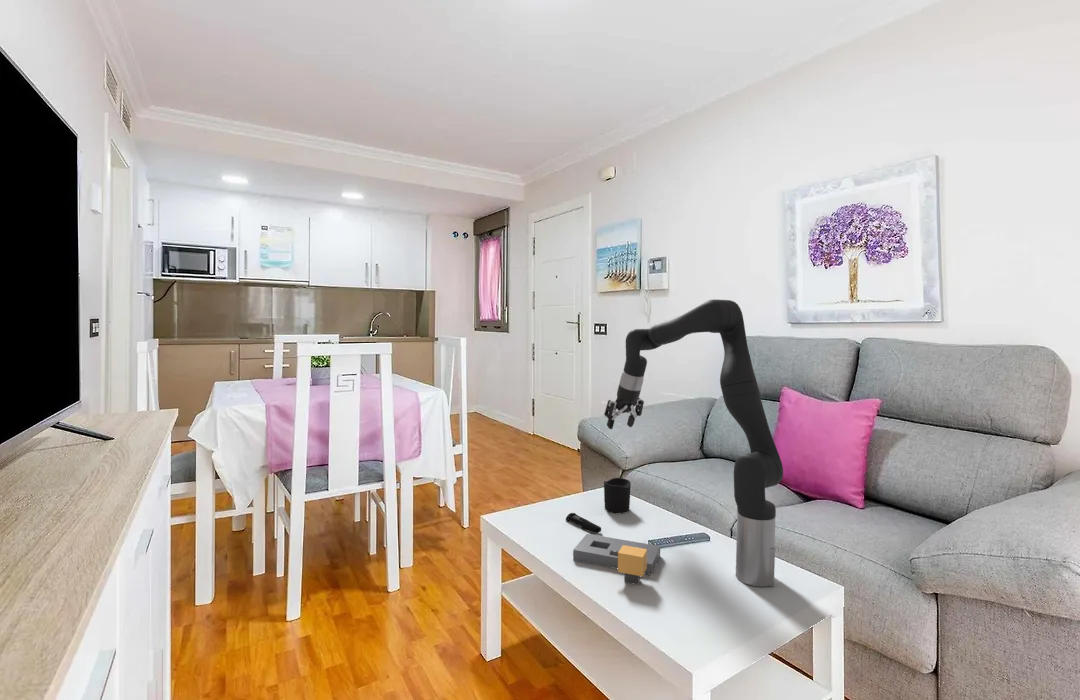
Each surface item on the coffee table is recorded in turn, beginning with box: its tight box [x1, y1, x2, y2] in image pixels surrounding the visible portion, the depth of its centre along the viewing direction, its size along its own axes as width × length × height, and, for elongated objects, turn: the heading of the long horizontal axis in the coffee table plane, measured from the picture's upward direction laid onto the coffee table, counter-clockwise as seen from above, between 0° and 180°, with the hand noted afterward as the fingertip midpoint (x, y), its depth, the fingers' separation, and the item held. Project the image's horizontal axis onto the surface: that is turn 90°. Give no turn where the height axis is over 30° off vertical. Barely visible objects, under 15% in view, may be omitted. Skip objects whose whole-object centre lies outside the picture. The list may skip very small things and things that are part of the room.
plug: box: [610, 545, 647, 585], centre depth 136 cm, size 9×5×8 cm, turn 67°
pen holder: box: [603, 477, 632, 514], centre depth 186 cm, size 9×9×10 cm
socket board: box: [572, 533, 661, 576], centre depth 148 cm, size 22×12×4 cm, turn 67°
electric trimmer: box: [565, 512, 602, 534], centre depth 171 cm, size 4×16×3 cm, turn 35°
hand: (619, 427), depth 182 cm, fingers open, 8 cm apart
